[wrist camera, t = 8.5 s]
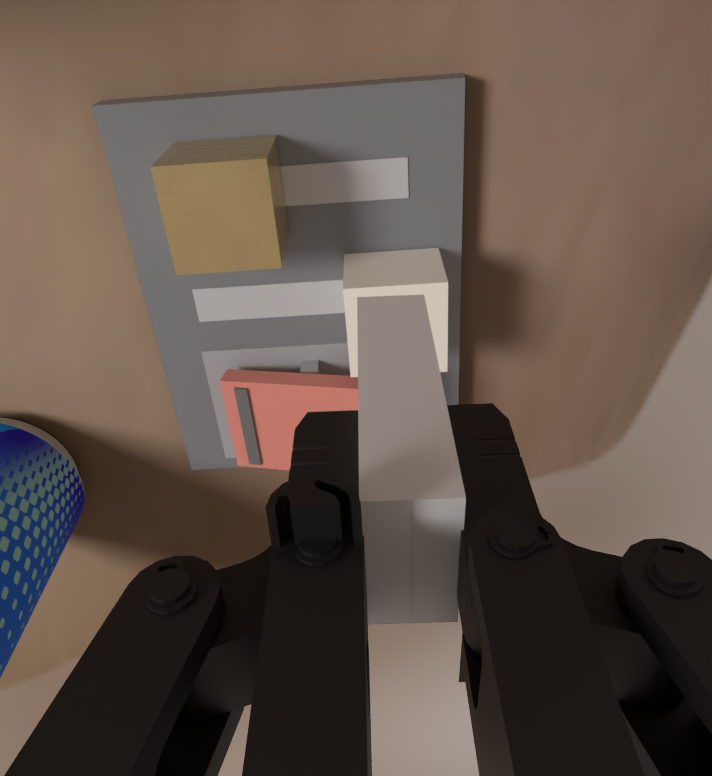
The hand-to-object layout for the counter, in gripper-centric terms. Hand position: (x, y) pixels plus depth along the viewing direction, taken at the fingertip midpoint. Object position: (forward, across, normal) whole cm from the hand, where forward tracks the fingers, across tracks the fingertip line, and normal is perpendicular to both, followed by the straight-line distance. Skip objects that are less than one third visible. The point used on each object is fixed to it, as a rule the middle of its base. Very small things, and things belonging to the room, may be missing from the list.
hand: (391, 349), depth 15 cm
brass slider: (+13, -6, 0) cm, 14 cm away
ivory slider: (+13, +1, -5) cm, 14 cm away
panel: (+14, -3, -6) cm, 16 cm away
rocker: (+11, -3, -10) cm, 16 cm away
